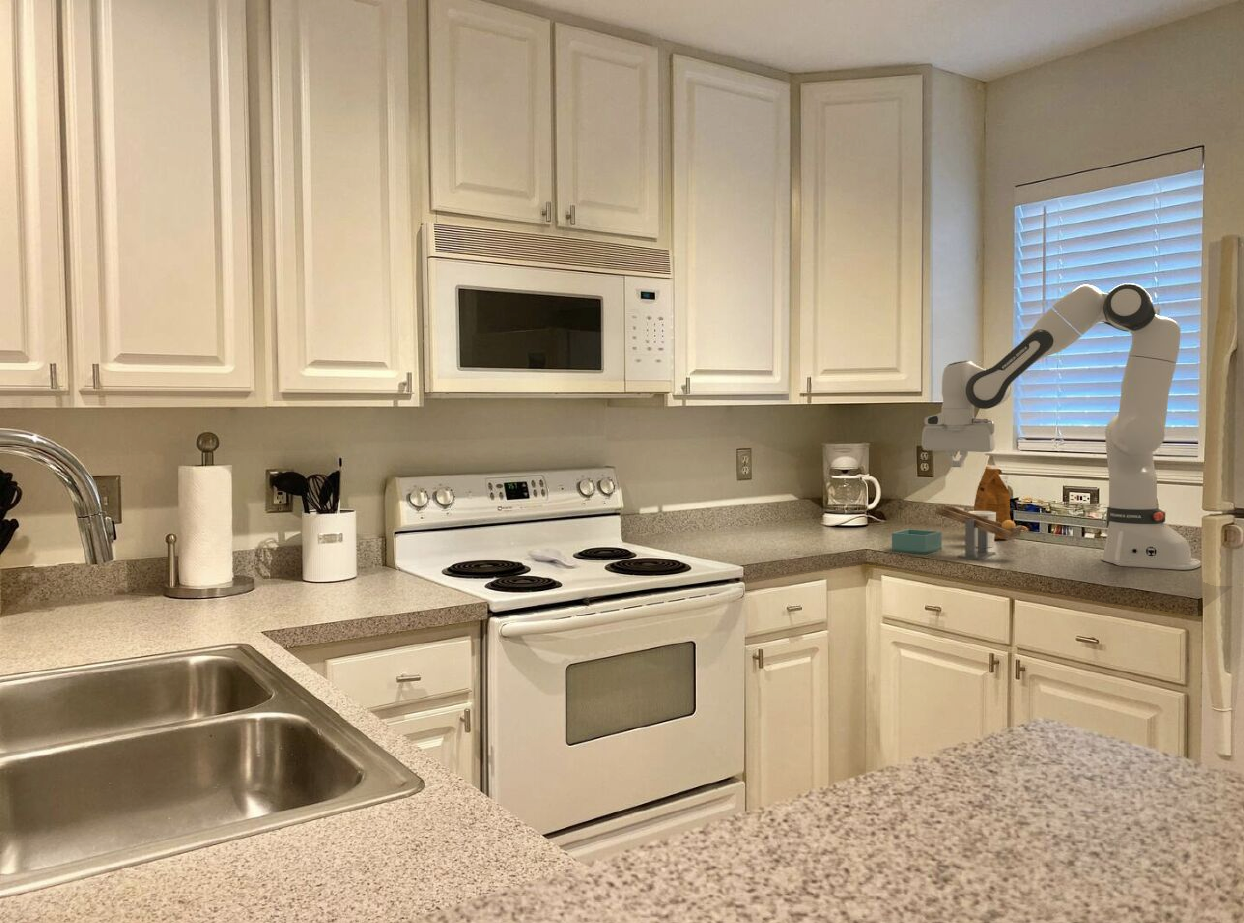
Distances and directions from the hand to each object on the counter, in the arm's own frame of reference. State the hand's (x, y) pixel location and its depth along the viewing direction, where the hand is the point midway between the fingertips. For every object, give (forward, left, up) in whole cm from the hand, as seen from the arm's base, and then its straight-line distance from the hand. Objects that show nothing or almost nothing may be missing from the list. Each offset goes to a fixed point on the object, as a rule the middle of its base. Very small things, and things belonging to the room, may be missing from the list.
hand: (957, 467), depth 270 cm
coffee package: (+2, -29, -24) cm, 37 cm away
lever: (-8, +3, -15) cm, 18 cm away
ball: (-17, +6, -15) cm, 24 cm away
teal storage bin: (+9, +6, -24) cm, 26 cm away
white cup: (-2, -12, -24) cm, 27 cm away
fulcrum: (-8, +6, -24) cm, 26 cm away
